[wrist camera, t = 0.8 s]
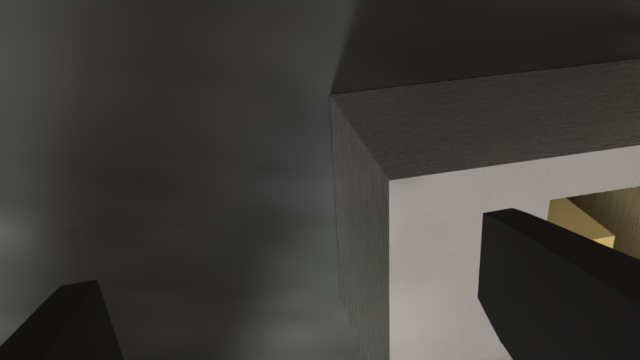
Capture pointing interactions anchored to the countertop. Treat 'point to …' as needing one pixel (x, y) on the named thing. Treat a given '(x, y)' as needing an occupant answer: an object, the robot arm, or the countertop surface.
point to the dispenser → (469, 192)
